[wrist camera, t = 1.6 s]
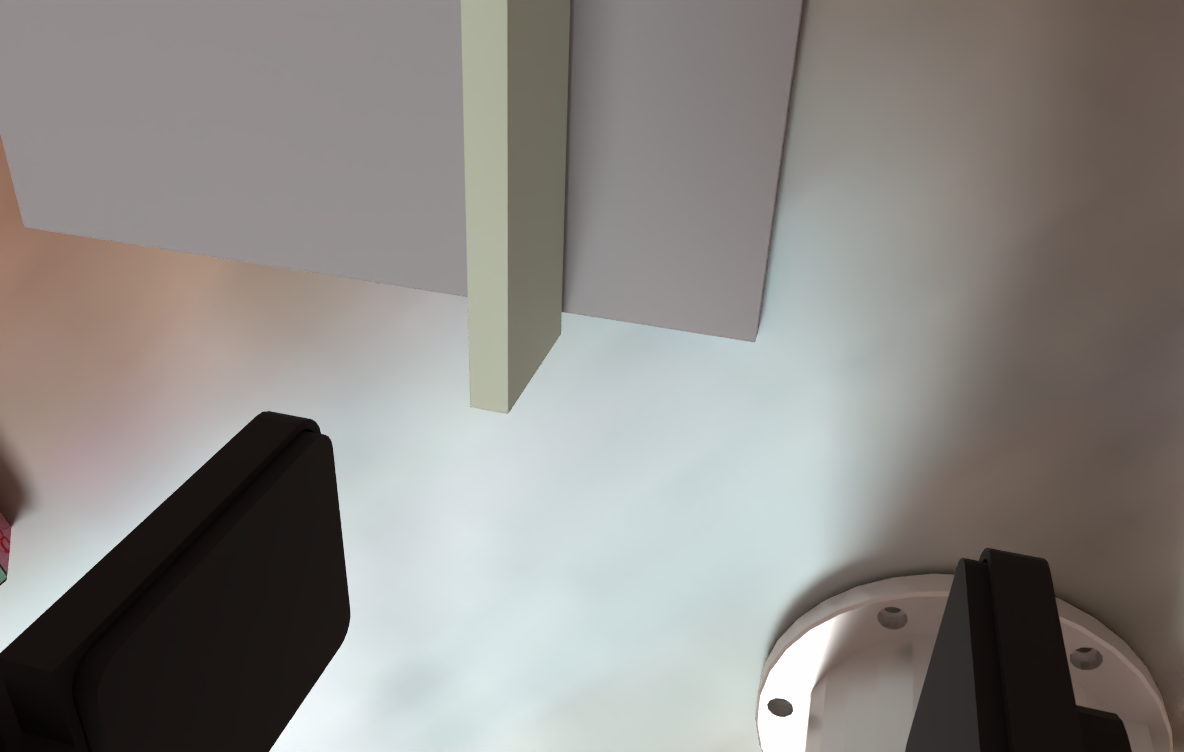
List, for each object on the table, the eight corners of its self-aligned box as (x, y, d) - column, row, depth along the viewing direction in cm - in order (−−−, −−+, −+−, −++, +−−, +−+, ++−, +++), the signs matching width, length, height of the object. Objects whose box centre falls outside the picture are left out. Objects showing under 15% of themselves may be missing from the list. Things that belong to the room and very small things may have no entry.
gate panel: (576, -234, 22) (507, -245, 18) (561, 333, 29) (507, 413, 25) (533, -236, 22) (454, -247, 18) (528, 328, 29) (470, 406, 25)
